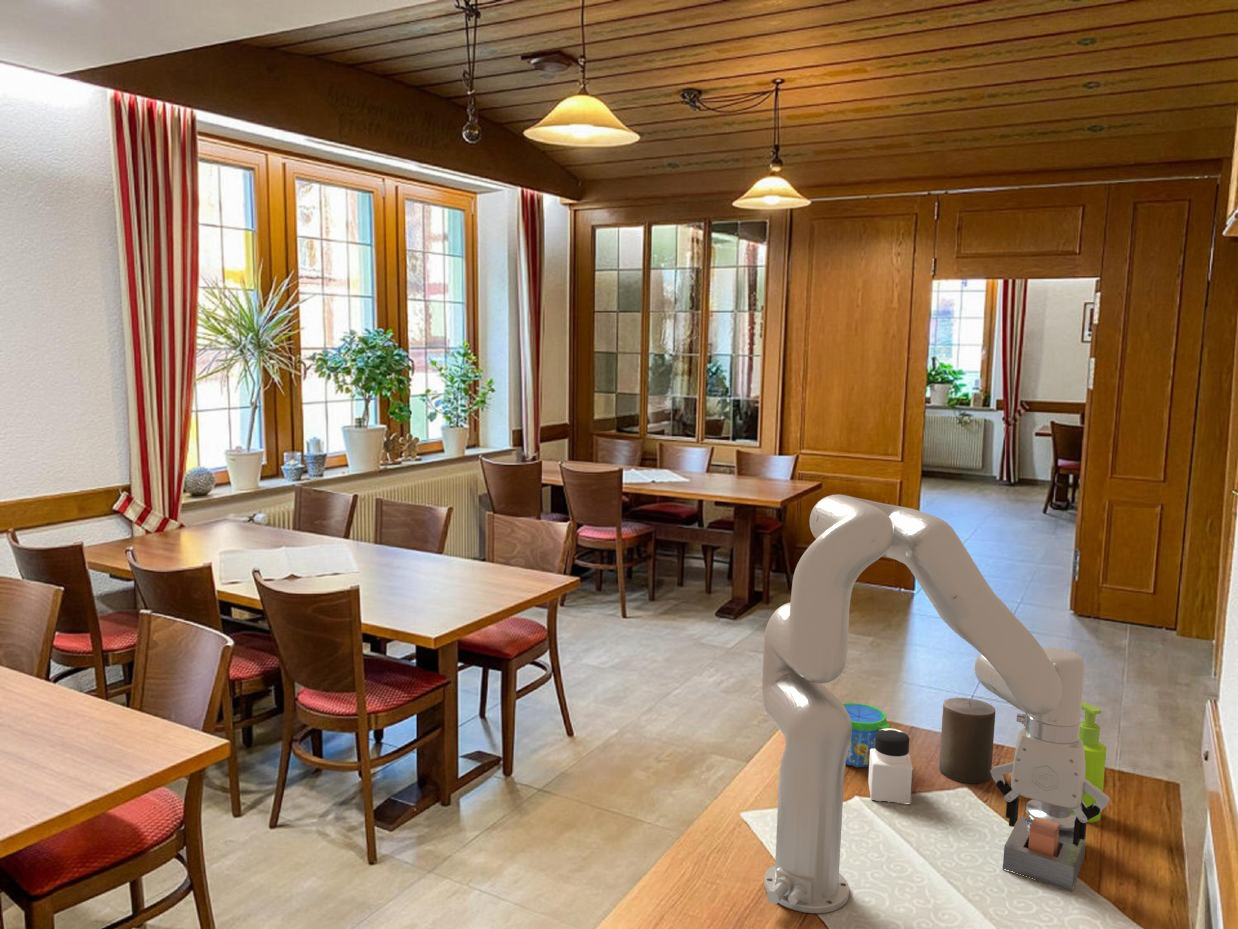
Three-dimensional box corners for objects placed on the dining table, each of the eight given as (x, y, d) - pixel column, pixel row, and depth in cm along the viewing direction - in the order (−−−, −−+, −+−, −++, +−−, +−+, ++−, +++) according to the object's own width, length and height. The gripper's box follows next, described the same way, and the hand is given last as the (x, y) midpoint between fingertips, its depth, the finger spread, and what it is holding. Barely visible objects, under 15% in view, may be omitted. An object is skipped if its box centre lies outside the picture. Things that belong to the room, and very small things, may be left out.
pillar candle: (986, 788, 171) (992, 712, 169) (933, 775, 176) (938, 701, 174) (994, 770, 179) (1000, 697, 177) (944, 757, 184) (949, 686, 183)
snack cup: (905, 768, 179) (908, 719, 178) (872, 782, 173) (875, 731, 171) (842, 741, 191) (844, 695, 190) (809, 753, 185) (811, 706, 184)
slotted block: (1071, 891, 138) (1083, 754, 135) (1002, 869, 144) (1012, 737, 141) (1090, 840, 153) (1100, 715, 150) (1026, 822, 159) (1035, 702, 156)
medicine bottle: (911, 805, 164) (915, 742, 162) (870, 801, 165) (874, 738, 164) (906, 787, 171) (910, 726, 169) (868, 783, 172) (871, 723, 171)
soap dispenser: (1075, 801, 167) (1084, 697, 164) (1108, 819, 160) (1117, 711, 158) (1051, 806, 164) (1060, 701, 162) (1083, 824, 158) (1092, 715, 156)
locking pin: (1051, 878, 141) (1054, 833, 141) (1026, 870, 144) (1029, 825, 143) (1055, 868, 144) (1059, 823, 143) (1031, 860, 146) (1034, 816, 146)
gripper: (988, 722, 143) (981, 825, 145) (1111, 751, 133) (1102, 861, 135) (999, 708, 149) (992, 807, 151) (1118, 734, 139) (1109, 840, 141)
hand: (1044, 832), depth 143 cm, fingers open, 9 cm apart
